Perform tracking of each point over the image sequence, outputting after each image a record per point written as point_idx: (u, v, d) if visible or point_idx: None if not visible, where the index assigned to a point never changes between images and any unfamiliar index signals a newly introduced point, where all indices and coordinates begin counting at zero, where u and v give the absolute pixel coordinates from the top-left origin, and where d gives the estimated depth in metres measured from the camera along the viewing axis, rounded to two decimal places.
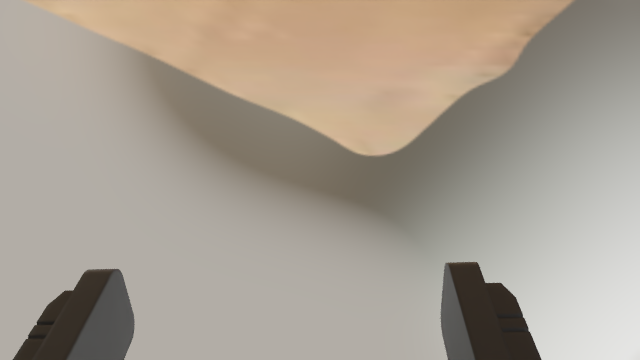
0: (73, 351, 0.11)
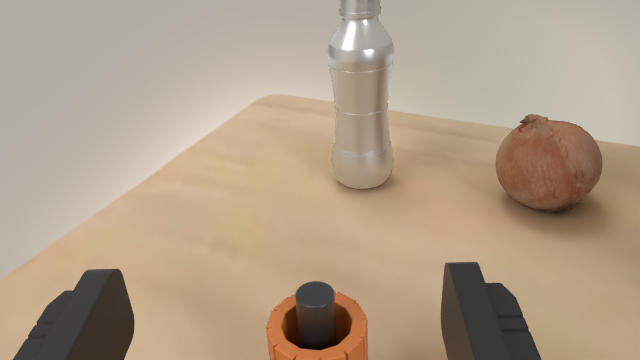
0: (73, 351, 0.11)
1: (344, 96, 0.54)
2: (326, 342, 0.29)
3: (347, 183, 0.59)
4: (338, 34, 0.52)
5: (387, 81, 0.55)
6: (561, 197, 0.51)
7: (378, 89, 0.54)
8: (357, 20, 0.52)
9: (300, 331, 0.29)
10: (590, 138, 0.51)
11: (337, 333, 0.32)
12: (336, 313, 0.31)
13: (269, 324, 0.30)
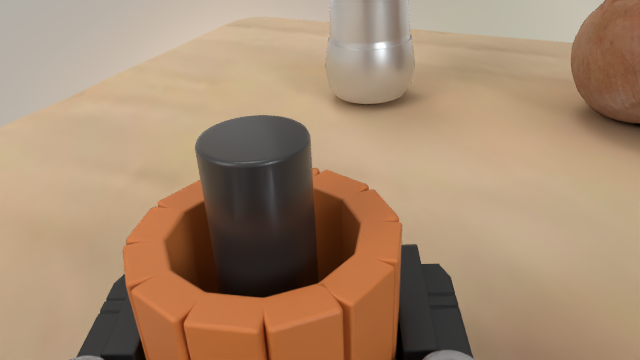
0: None
1: None
2: (288, 281, 0.10)
3: (348, 95, 0.40)
4: None
5: None
6: None
7: None
8: None
9: (215, 251, 0.10)
10: None
11: (323, 273, 0.13)
12: (320, 219, 0.12)
13: (135, 235, 0.11)
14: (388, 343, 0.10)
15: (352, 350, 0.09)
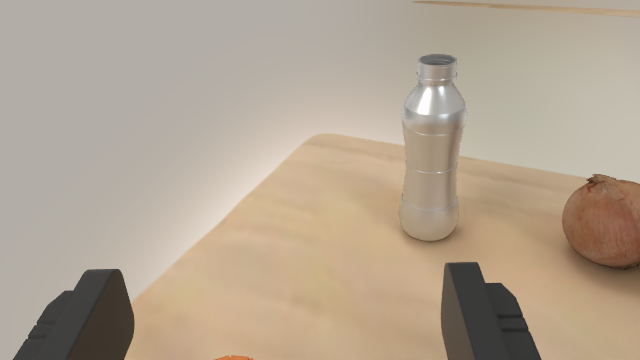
0: (73, 351, 0.11)
1: (418, 156, 0.57)
2: None
3: (415, 235, 0.61)
4: (416, 98, 0.55)
5: (460, 141, 0.57)
6: (632, 257, 0.53)
7: (451, 149, 0.56)
8: (434, 85, 0.54)
9: None
10: None
11: None
12: None
13: None
14: None
15: None
